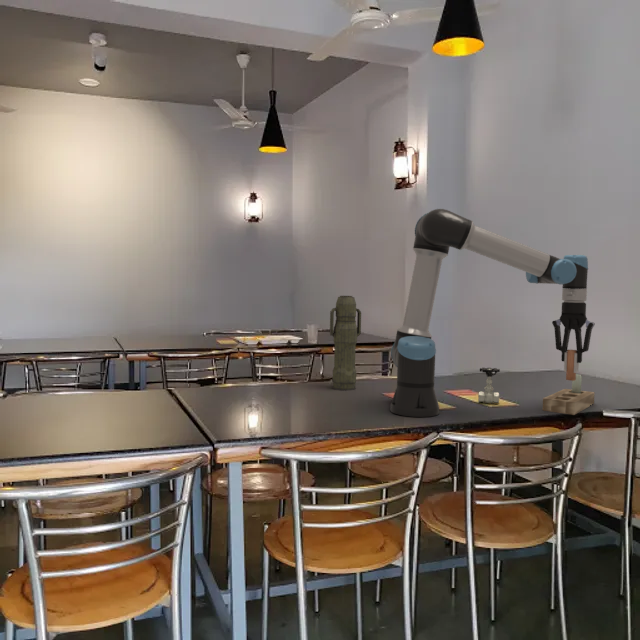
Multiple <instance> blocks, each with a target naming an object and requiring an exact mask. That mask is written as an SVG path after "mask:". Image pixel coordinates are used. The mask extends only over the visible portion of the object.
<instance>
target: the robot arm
mask: <svg viewBox="0 0 640 640" xmlns="http://www.w3.org/2000/svg"><path fill="white" fill-rule="evenodd" d="M450 248H454V249H457V250H458V251H459V250H460V251H461V250H464V249H465V250H468V251H471V252H474V253H476V254H479V255H481V256H483V257H487V258H489V259H491V260H494V261H497V262H499V263H502V264H504V265H507V266H510V267H513V268H515V269H518V270H520V271H523V272H525V277H526V280H527V282H528V284H529V283H530V284H546V285H547V284H550V285H551V284H552V285H553V284H554V285H555V284H556V285H562V289H561V290H562V297H561V300H562V301H563V302H562V303H561V314H560V317H559V319H555V320H553V321H552V322H551V323H552V326H553V328H554V340H555V341H554V342H555V348H556V350H558V351H560V352H561V362H563V372H564V373H566V372H567V350H568V347H569V341H570V336H571V332H572V330H573V331H574V333H575V335H574V336H575V345H576V350H577V352H576V353H574V373H576V374H578V373H579V364H581V363H582V362H583V353H585V352H588V351H589V347H590V342H591V336H592V330H593V328H594V327H595V322H593V321H589V319H588V318H587V316H586V315H587V303H586V301H587V293H588V291H587V289H588V287H587V286H588V285H587V284H588V272H589V271H588V270H589V261H588V256H586V255H584V254H567V255H564V256H563V258H559V257H556V256H553V255H551V254H548V253H546V252H543V251H541V250H538V249H536V248H533V247H530V246H528V245H525V244H523V243H521V242H518V241H515V240H513V239H511V238H508V237H505V236H502V235H499V234H498V233H494V232H493V231H490V230H487V229H484V228H482V227H480V226H477V225H475V224H474V221H473V220H471V219H469V218H466V217H464V216H461V215H459V214H457V213H454V212H452V211H451V210H448V209H444V208H436V209H433V210H430V211H428V212H427V213H425V214H423V215H421V216H420V218H419V219H418V220H417V222H416V224H415V228H414V242H413V247H412V250H413V252H414V253H415V260H414V261H415V262H414V265H413V271H412V276H411V283H410V287H409V292H408V297H407V302H406V306H405V313H404V318H403V322H402V325H401V326H399V328H397V329H396V335H395V340H394V343H392V344H393V345H392V347H391V350H390V357H391V359H392V363H393V365H394V366H395V367H396V368H397V370H396V389H395V391H394V395H393V397H392V400H391V403H390V412H391V413H393V414H395V415H399V416H403V417H411V418H412V417H413V418H427V417H428V418H429V417H434V416H435V417H436V416H438V415H439V414H440V405H439V401H438V397H437V395H436V391H435V376H436V373H435V372H436V371H435V370H436V367H435V366H436V354H437V349H436V343H435V341H434V339H432V337H433V336H432V334H431V332H430V331H429V329H430V323H431V319H432V312H433V308H434V303H435V297H436V293H437V287H438V283H439V278H440V272H441V268H442V267H441V266H442V263H443V260H444V259H445V258H447V256H449V251H450ZM561 324H562V325H563V327H564V330H563V331H564V332H563V338H562V333H561ZM584 325H585V327H586V330H585V333H584V338H583V339H582V327H584ZM582 340H583V341H582Z"/></svg>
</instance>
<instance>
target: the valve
mask: <svg viewBox="0 0 640 640" xmlns="http://www.w3.org/2000/svg"><path fill="white" fill-rule="evenodd" d="M479 372H482V373H485V375H486V377H487V379H485V380H486V382H485V383H486V385H485V386H484V388H483V389H484V391H479V392H478V403H479V402H483V403H484V404H487V403H491V404H494V403H498V404H499V403H500V393H499V392H493V391H494V387H493V385H492V384H493V379H492V377H493V376H495V375H497V374H498V373H500V372H501V371H500V368H497V367H493V368H492V367H487V368H486V367H482V368H481V367H480V368H479Z"/></svg>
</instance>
